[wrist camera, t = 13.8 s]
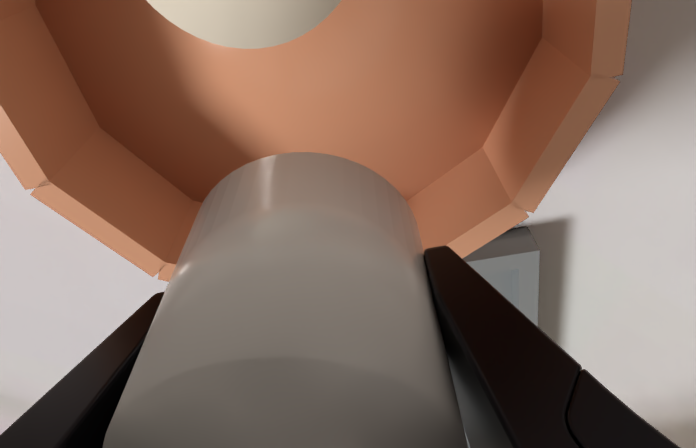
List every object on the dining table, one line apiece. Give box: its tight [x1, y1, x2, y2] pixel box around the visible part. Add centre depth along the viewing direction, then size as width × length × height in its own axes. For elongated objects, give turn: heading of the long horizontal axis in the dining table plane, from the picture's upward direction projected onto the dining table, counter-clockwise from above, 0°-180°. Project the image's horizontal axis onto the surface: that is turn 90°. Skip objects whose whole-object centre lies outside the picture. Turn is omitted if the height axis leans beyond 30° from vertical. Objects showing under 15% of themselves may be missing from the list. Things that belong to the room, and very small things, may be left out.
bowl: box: [0, 0, 632, 282], centre depth 12 cm, size 14×14×4 cm
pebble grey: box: [103, 152, 468, 448], centre depth 8 cm, size 4×4×4 cm
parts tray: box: [462, 227, 540, 448], centre depth 22 cm, size 14×13×1 cm
